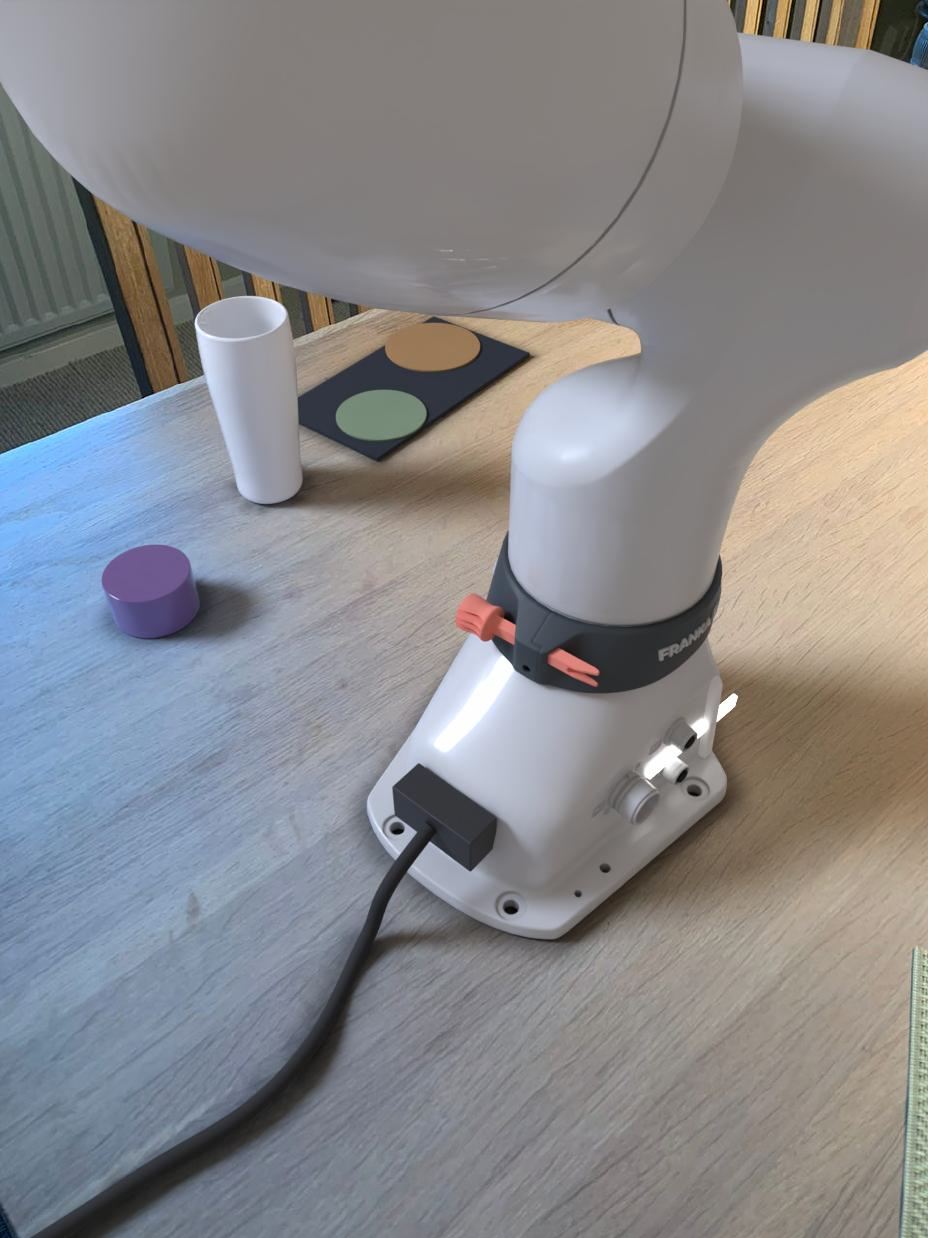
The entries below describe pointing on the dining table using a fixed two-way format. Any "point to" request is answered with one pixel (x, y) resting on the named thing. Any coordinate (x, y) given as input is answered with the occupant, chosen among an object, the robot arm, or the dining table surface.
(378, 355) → the placemat
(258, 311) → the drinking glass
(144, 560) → the purple cylinder puck
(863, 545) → the dining table surface
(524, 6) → the robot arm
